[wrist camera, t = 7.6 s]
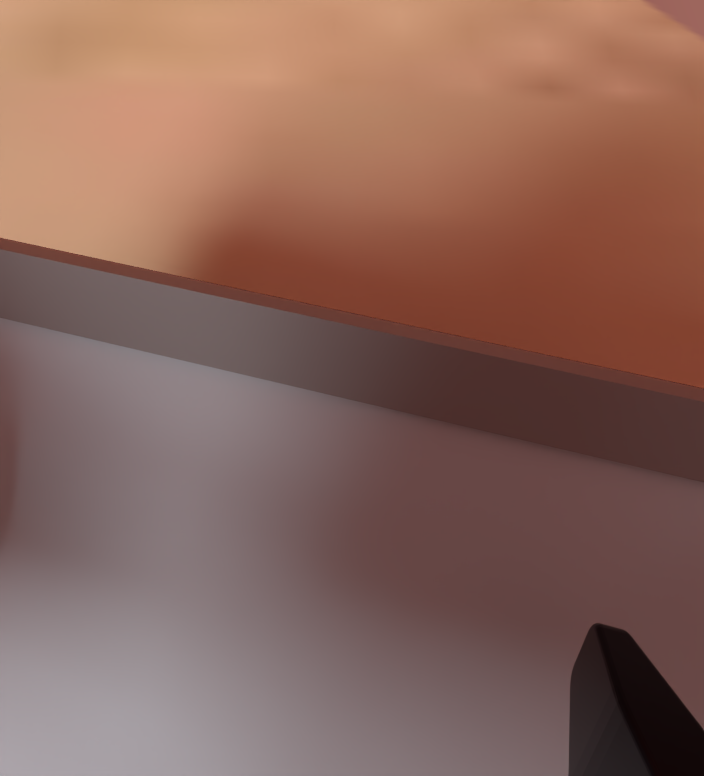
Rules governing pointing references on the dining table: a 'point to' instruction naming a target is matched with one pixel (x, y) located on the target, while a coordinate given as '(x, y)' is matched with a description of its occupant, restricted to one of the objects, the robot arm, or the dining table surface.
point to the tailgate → (318, 534)
